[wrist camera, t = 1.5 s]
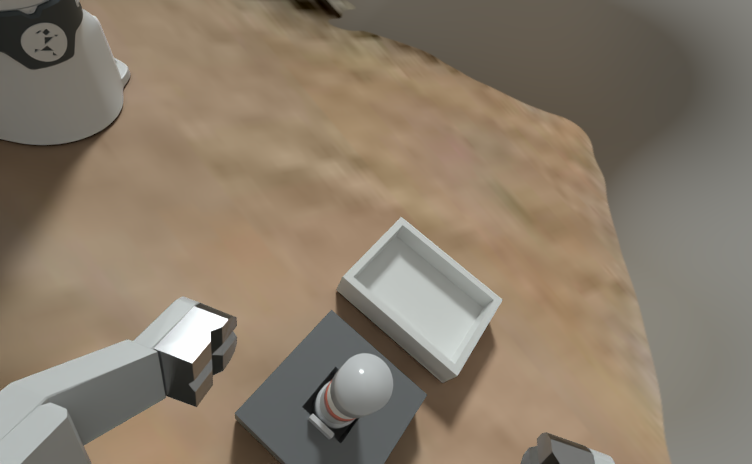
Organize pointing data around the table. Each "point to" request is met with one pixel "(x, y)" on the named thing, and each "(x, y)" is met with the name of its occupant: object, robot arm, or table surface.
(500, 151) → the table surface
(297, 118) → the table surface
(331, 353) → the fuse holder
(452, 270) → the tray
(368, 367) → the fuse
